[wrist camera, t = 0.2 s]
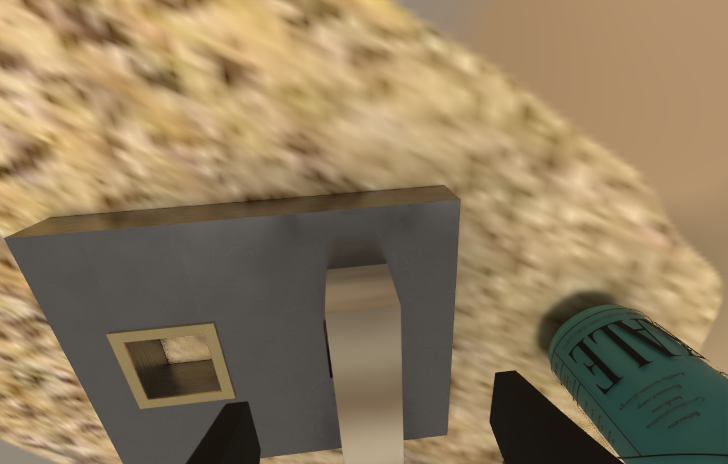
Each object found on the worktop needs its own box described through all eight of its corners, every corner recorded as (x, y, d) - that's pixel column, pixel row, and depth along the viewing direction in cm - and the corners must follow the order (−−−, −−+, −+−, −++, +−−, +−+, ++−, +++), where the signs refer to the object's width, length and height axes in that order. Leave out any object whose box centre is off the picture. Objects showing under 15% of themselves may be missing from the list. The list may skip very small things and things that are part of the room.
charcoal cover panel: (436, 401, 24) (447, 436, 22) (149, 436, 23) (127, 476, 21) (443, 185, 18) (461, 200, 16) (48, 217, 17) (1, 239, 14)
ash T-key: (386, 377, 23) (403, 467, 17) (342, 382, 23) (345, 475, 17) (380, 243, 19) (400, 306, 13) (326, 248, 19) (324, 313, 13)
